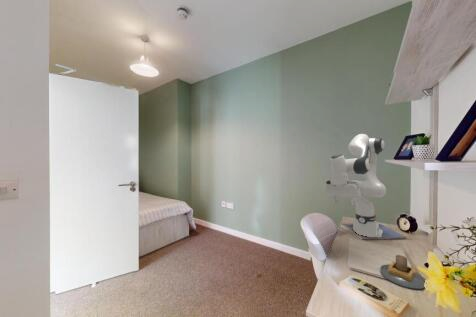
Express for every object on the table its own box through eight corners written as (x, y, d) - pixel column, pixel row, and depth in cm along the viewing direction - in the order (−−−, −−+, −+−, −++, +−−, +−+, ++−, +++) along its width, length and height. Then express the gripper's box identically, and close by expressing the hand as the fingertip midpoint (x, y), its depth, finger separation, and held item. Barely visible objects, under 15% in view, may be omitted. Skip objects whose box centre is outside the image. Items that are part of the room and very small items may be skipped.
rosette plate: (386, 263, 96) (386, 255, 96) (429, 279, 83) (429, 269, 83) (375, 275, 87) (375, 266, 87) (422, 295, 74) (422, 284, 74)
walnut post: (397, 270, 88) (396, 254, 88) (408, 274, 85) (408, 257, 85) (395, 273, 86) (394, 256, 86) (406, 278, 82) (405, 260, 82)
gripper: (361, 180, 104) (364, 204, 103) (328, 180, 122) (331, 200, 121) (355, 182, 101) (359, 206, 100) (322, 181, 119) (325, 202, 118)
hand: (343, 203), depth 111 cm, fingers open, 8 cm apart
